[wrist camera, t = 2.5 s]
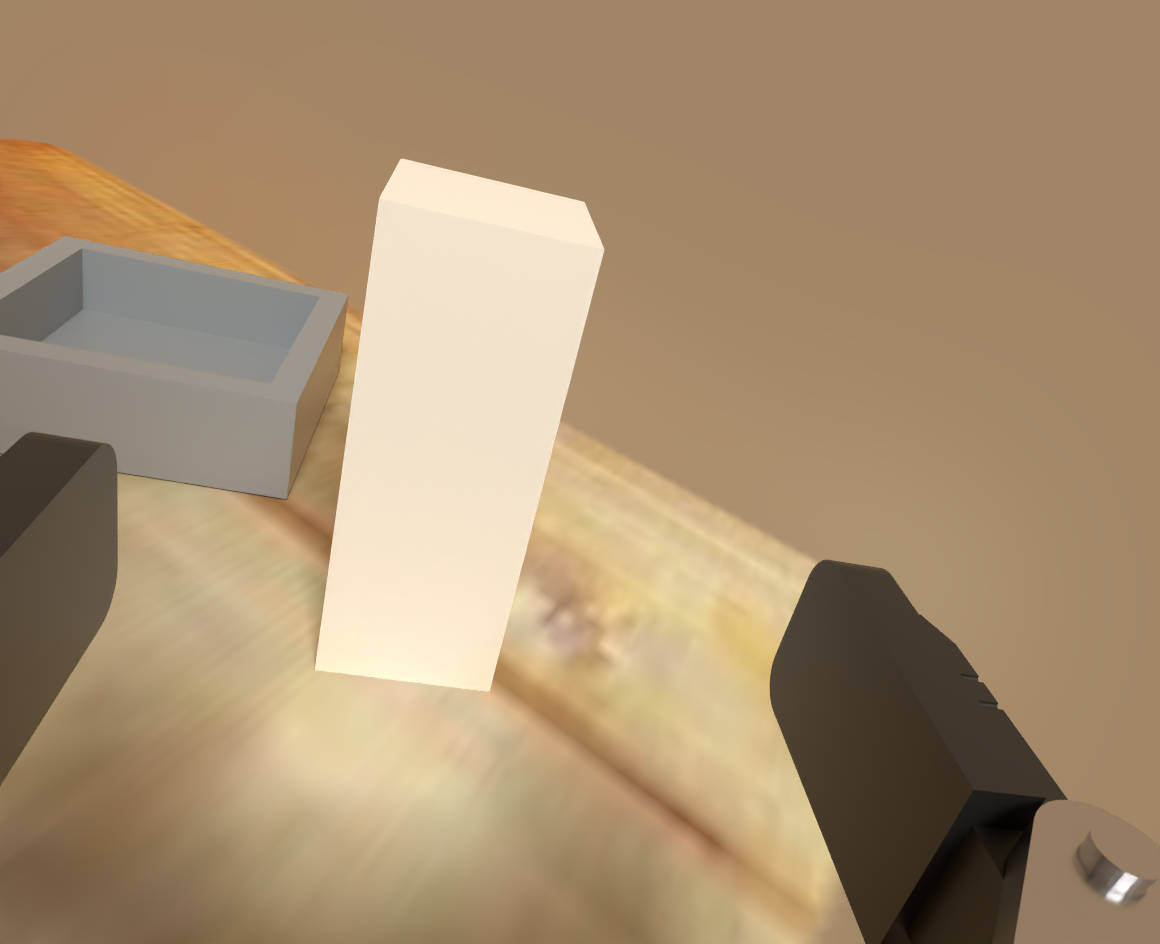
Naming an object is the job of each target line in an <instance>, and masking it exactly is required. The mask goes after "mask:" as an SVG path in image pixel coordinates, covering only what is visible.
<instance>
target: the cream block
mask: <svg viewBox="0 0 1160 944" xmlns="http://www.w3.org/2000/svg"><path fill="white" fill-rule="evenodd" d="M603 252H604V248H603V246H602V243H601V241H600V238H599V236H598V233H597V231H596V229H595V226H594V224H593V221H592V219H591V217H590V214H589V212H588V210H587V207H586V205H585V202H582V201H578V200H574V199H570V198H565V197H561V196H557V195H553V194H548V193H544V192H540V191H535V190H532V189H527V188H523V187H519V186H515V185H511V184H506V183H502V182H498V181H494V180H490V179H485V178H481V177H477V176H473V175H469V174H464V173H460V172H456V171H452V170H448V169H443V168H439V167H435V166H431V165H427V164H422V163H418V162H414V161H410V160H406V159H401V160H400V162H399V163H398V165H397V167H396V169H395V171H394V172H393V174H392V176H391V178H390V180H389V182H388V184H387V185H386V187H385V189H384V191H383V193H382V194H381V196H380V198H379V205H378V213H377V219H376V227H375V234H374V242H373V249H372V256H371V263H370V271H369V278H368V285H367V292H366V300H365V307H364V314H363V321H362V329H361V336H360V343H359V351H358V358H357V365H356V373H355V380H354V387H353V394H352V402H351V409H350V416H349V424H348V431H347V438H346V446H345V453H344V460H343V467H342V475H341V482H340V489H339V497H338V504H337V511H336V519H335V526H334V533H333V540H332V548H331V555H330V562H329V570H328V577H327V584H326V592H325V599H324V606H323V613H322V621H321V628H320V635H319V643H318V650H317V657H316V665H315V670H318V671H326V672H334V673H342V674H350V675H358V676H366V677H374V678H382V679H390V680H398V681H406V682H414V683H422V684H430V685H438V686H446V687H453V688H461V689H469V690H477V691H485V692H489V691H490V687H491V683H492V679H493V676H494V672H495V668H496V664H497V660H498V656H499V653H500V649H501V645H502V641H503V637H504V633H505V629H506V626H507V622H508V618H509V614H510V610H511V606H512V602H513V599H514V595H515V591H516V587H517V583H518V579H519V576H520V572H521V568H522V564H523V560H524V556H525V552H526V549H527V545H528V541H529V537H530V533H531V529H532V526H533V522H534V518H535V514H536V510H537V506H538V502H539V499H540V495H541V491H542V487H543V483H544V479H545V475H546V472H547V468H548V464H549V460H550V456H551V452H552V449H553V445H554V441H555V437H556V433H557V429H558V425H559V422H560V418H561V414H562V410H563V406H564V402H565V399H566V395H567V391H568V387H569V383H570V379H571V375H572V372H573V367H574V364H575V360H576V356H577V352H578V348H579V345H580V341H581V337H582V333H583V329H584V325H585V322H586V318H587V314H588V310H589V306H590V302H591V298H592V295H593V291H594V286H595V283H596V279H597V275H598V271H599V267H600V264H601V260H602V256H603Z"/></svg>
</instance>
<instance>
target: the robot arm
mask: <svg viewBox="0 0 1160 944" xmlns="http://www.w3.org/2000/svg"><path fill="white" fill-rule="evenodd" d="M117 564H118V557H117V459H116V454H115V451H114V449H113V447H112V446H111V445H110V444H107V443H101V442H94V441H88V440H82V439H76V438H69V437H63V436H57V435H51V434H44V433H38V432H29V433H26V434H25V435H24V436H22V437H21V438H20V439H19V440H18V441H17V442H16V443H15V444H13V445H12V446H11V447H10V448H9V449H8V450H7V451H6V452H5V453H4V454H3V455H1V456H0V785H1V784H2V782H3V781H4V779H5V778H6V776H7V774H8V773H9V771H10V770H11V768H12V766H13V765H14V763H15V762H16V760H17V759H18V757H19V755H20V754H21V752H22V751H23V749H24V747H25V746H26V744H27V743H28V741H29V740H30V738H31V736H32V735H33V733H34V732H35V730H36V728H37V727H38V725H39V724H40V722H41V720H42V719H43V717H44V716H45V714H46V713H47V711H48V709H49V708H50V706H51V705H52V703H53V701H54V700H55V698H56V697H57V695H58V694H59V692H60V690H61V689H62V687H63V686H64V684H65V682H66V681H67V679H68V678H69V676H70V675H71V673H72V671H73V670H74V668H75V667H76V665H77V663H78V662H79V660H80V659H81V657H82V655H83V654H84V652H85V651H86V649H87V648H88V646H89V644H90V643H91V641H92V640H93V638H94V636H95V635H96V633H97V632H98V630H99V629H100V627H101V625H102V623H103V622H104V619H105V617H106V615H107V613H108V610H109V607H110V604H111V601H112V597H113V594H114V589H115V584H116V578H117ZM770 698H771V704H772V708H773V711H774V714H775V716H776V719H777V721H778V724H779V726H780V729H781V731H782V734H783V736H784V739H785V742H786V744H787V747H788V749H789V752H790V754H791V757H792V759H793V762H794V764H795V767H796V769H797V772H798V774H799V777H800V779H801V782H802V784H803V787H804V789H805V792H806V795H807V797H808V800H809V802H810V805H811V807H812V810H813V812H814V815H815V817H816V820H817V822H818V825H819V827H820V830H821V832H822V835H823V837H824V840H825V842H826V845H827V848H828V850H829V853H830V855H831V858H832V860H833V863H834V865H835V868H836V870H837V873H838V875H839V878H840V880H841V883H842V885H843V888H844V890H845V893H846V895H847V898H848V901H849V903H850V906H851V908H852V910H853V913H854V916H855V918H856V921H857V923H858V926H859V928H860V931H861V933H862V936H863V938H864V941H865V943H866V944H1160V846H1159V845H1158V844H1157V843H1155V842H1154V841H1153V840H1152V839H1150V838H1149V837H1148V836H1147V835H1145V834H1144V833H1143V832H1141V831H1140V830H1138V829H1137V828H1135V827H1134V826H1132V825H1131V824H1129V823H1128V822H1126V821H1124V820H1122V819H1121V818H1119V817H1117V816H1115V815H1113V814H1111V813H1109V812H1107V811H1105V810H1102V809H1100V808H1097V807H1095V806H1092V805H1089V804H1085V803H1082V802H1078V801H1071V800H1068V799H1067V798H1066V797H1065V795H1064V794H1063V792H1062V791H1061V790H1060V788H1059V787H1058V786H1057V784H1056V783H1055V781H1054V780H1053V778H1052V777H1051V776H1050V774H1049V773H1048V772H1047V770H1046V769H1045V768H1044V766H1043V765H1042V763H1041V762H1040V761H1039V759H1038V758H1037V756H1036V755H1035V754H1034V752H1033V751H1032V749H1031V748H1030V747H1029V745H1028V744H1027V742H1026V741H1025V740H1024V738H1023V737H1022V736H1021V734H1020V733H1019V732H1018V730H1017V729H1016V727H1015V726H1014V725H1013V723H1012V722H1011V720H1010V719H1009V718H1008V716H1007V715H1006V713H1005V712H1004V711H1003V710H1000V709H998V708H997V704H998V702H997V701H996V700H995V698H994V697H993V695H992V694H991V693H990V691H989V690H988V688H987V687H986V686H985V684H984V683H981V682H978V675H977V673H976V672H975V671H974V669H973V668H972V666H971V665H970V664H969V662H968V661H967V659H966V658H965V657H964V655H963V654H962V652H961V651H960V650H959V648H958V647H957V646H956V644H955V643H953V642H952V641H951V640H950V639H949V638H948V637H946V636H945V635H944V634H943V633H942V632H940V631H939V630H938V629H937V628H936V627H934V626H933V625H932V624H931V623H929V622H928V621H927V620H926V619H925V618H924V617H923V616H921V615H919V614H918V613H917V611H916V610H915V608H914V607H913V606H912V604H911V603H910V601H909V600H908V598H907V597H906V596H905V594H904V593H903V591H902V590H901V588H900V587H899V585H898V584H897V583H896V581H895V580H894V578H893V577H892V576H891V574H890V573H889V572H888V571H886V570H885V569H882V568H876V567H870V566H864V565H858V564H851V563H845V562H838V561H832V560H823V561H821V562H819V563H818V564H817V565H816V566H815V567H814V568H813V570H812V572H811V573H810V575H809V577H808V580H807V582H806V584H805V587H804V589H803V592H802V594H801V596H800V599H799V601H798V603H797V606H796V608H795V610H794V613H793V615H792V617H791V620H790V622H789V625H788V627H787V629H786V632H785V634H784V636H783V639H782V641H781V643H780V646H779V648H778V650H777V653H776V655H775V658H774V661H773V665H772V669H771V676H770Z"/></svg>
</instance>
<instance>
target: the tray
mask: <svg viewBox="0 0 1160 944" xmlns="http://www.w3.org/2000/svg"><path fill="white" fill-rule="evenodd" d="M348 296H349V295H348V294H344V293H339V292H334V291H329V290H325V289H320V288H315V287H310V286H305V285H300V284H296V283H291V282H286V281H281V280H276V279H271V278H266V277H262V276H257V275H252V274H247V273H242V272H237V271H233V270H228V269H223V268H218V267H213V266H208V265H203V264H199V263H194V262H189V261H184V260H179V259H174V258H169V257H165V256H160V255H155V254H150V253H145V252H140V251H135V250H131V249H126V248H121V247H116V246H111V245H106V244H101V243H97V242H92V241H87V240H82V239H77V238H72V237H68V236H64V237H62V238H61V239H59V240H57V241H56V242H54V243H52V244H50V245H49V246H47V247H45V248H43V249H42V250H40V251H38V252H36V253H35V254H33V255H31V256H30V257H28V258H26V259H24V260H23V261H21V262H19V263H17V264H16V265H14V266H12V267H11V268H9V269H7V270H5V271H4V272H2V273H0V453H2V454H4V453H5V452H6V451H7V450H8V449H9V448H10V447H11V446H12V445H13V444H15V443H16V442H17V441H18V440H19V439H20V438H21V437H22V436H24V435H25V434H26V433H29V432H38V433H44V434H51V435H57V436H63V437H69V438H76V439H82V440H88V441H94V442H101V443H107V444H110V445H111V446H112V447H113V449H114V451H115V454H116V459H117V472H120V473H126V474H133V475H139V476H145V477H151V478H157V479H164V480H170V481H176V482H182V483H189V484H195V485H201V486H207V487H214V488H220V489H226V490H232V491H238V492H245V493H251V494H257V495H263V496H270V497H276V498H282V499H287V498H288V495H289V493H290V490H291V488H292V485H293V483H294V480H295V478H296V475H297V473H298V470H299V468H300V466H301V463H302V461H303V458H304V456H305V453H306V451H307V448H308V446H309V443H310V441H311V438H312V436H313V434H314V431H315V429H316V426H317V424H318V421H319V419H320V416H321V414H322V411H323V409H324V406H325V404H326V402H327V399H328V397H329V394H330V392H331V389H332V387H333V384H334V382H335V379H336V377H337V374H338V372H339V367H340V359H341V351H342V343H343V335H344V328H345V320H346V312H347V304H348Z"/></svg>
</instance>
